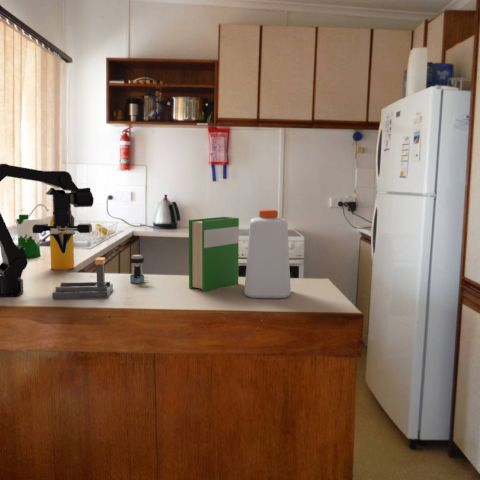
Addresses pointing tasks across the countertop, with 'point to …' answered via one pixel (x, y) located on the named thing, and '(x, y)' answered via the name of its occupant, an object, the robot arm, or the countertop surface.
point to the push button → (137, 269)
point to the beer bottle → (57, 257)
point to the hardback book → (213, 252)
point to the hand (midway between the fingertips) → (63, 253)
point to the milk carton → (28, 236)
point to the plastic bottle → (268, 257)
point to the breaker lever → (100, 271)
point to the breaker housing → (81, 290)
